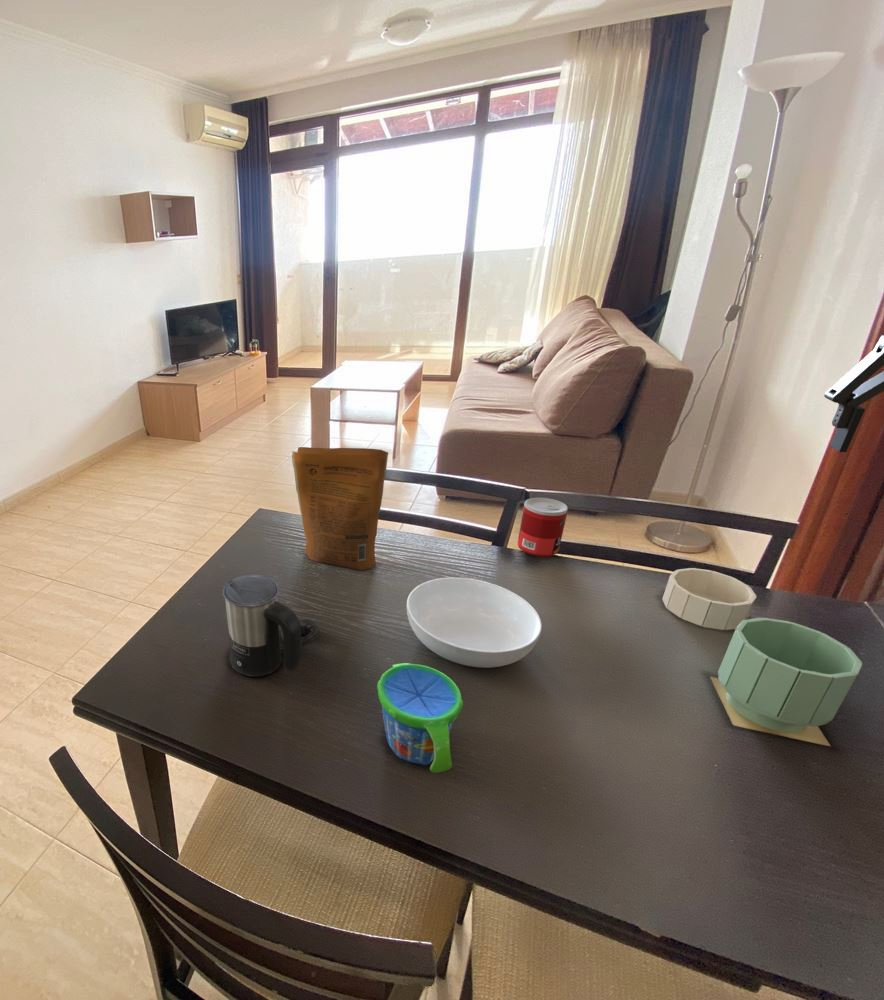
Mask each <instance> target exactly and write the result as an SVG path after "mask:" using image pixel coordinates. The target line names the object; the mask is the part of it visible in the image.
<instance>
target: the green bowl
mask: <svg viewBox="0 0 884 1000" xmlns="http://www.w3.org/2000/svg"><path fill="white" fill-rule="evenodd" d="M862 666H863V662H862V660H861V659H860V658H859V657H858V656H857V655H856V654H855V652H854V651H853V650H852V649H851V648H850V647H849V646H847V645H845V644H844V643H842V642H840V641H838V640H837V639H835V638H834V637H831V636H830V635H828V634H826V633H825V632H822V631H821V630H816V629H814V628H811V627H808V626H806V625H802V624H799V623H796V622H792V621H788V620H782V619H776V618H770V617H769V618H768V617H755V618H748V619H747V620H743V621H741V623H740V624H739V625H738V627H737V628H736V629H734V632H733V635H732V637H731V639H730V641H729V644H728V646H727V648H726V651H725V654H724V656H723V658H722V661H721V663H720V666H719V668H718V671H717V678H719V681H720V683H721V685H722V687H723V688H724V689H725V690H726V691H727V693H726V698H727V701H728V703H729V704H730V705H731V707H732V708H733V709H734V710H735V711H737V712H738V713H739V714H740V715H742V716H743V717H745V718H746V719H748V720H750V721H752V722H754V723H756V724H758V725H760V726H763V727H766V728H768V729H772V730H775V731H780V732H787V733H796V732H801V731H803V730H805V729H806V728H807V726H818V727H820V726H824V725H827V724H829V723H830V722H831V721H833V720H834V718H835V716H836V714H837V712H838V711H839V709H840V707H841V706H842V704H843V702H844V700H845V698H846V697H847V695H848V693H849V691H850V689H851V687H852V686H853V684H854V682H855V680H856V679H857V677H858V675H859V673H860V671H861V669H862Z"/></svg>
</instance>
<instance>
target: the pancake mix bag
mask: <svg viewBox="0 0 884 1000" xmlns="http://www.w3.org/2000/svg"><path fill="white" fill-rule="evenodd" d="M388 458H389V452H388V451H385V450H383V449H378V448H363V447H362V448H361V447H330V448H329V447H325V448H324V447H309V446H308V447H307V446H298V447H297V451H296V450H292V454H291V463H292V467H293V472H294V482H295V490H296V494H297V500H298V506H299V511H300V515H301V522H302V529H303V533H304V538H305V542H306V544H305V547H304V554H305V555H306V556H307V557H308V558H309V560H311V561H313V562H315V563H320V564H325V565H329V566H337V567H342V568H348V569H352V570H357V571H365V570H369V569H372V568H375V567H377V561H376V560H377V559H376V548H375V547H376V546H375V545H376V539H377V534H378V524H379V515H380V512H381V507H382V502H383V496H384V486H385V479H386V476H387V465H388Z"/></svg>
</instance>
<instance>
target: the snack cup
mask: <svg viewBox="0 0 884 1000" xmlns="http://www.w3.org/2000/svg"><path fill="white" fill-rule="evenodd" d="M376 688H377V694H378V701H379V702H380V704H381V708H382V710H381V711H382V716H383V717H382V718H383V723H384V724H383V725H384V732H385V736H386V741H387V744H388V746H389V747H390V749H391V751H392V752H393V753H394V755H395V756H397V757H398V758H399V759H401V760H404V761H406V762H407V763H408V762H409V763H412V764H416V765H417V764H418V765H423V766H426V765H430V767H429V770H430V772H431V773H436V774H438V773H444V772H447V771H449V770H450V769H451V768H452V766H453V763H452V762H453V761H452V756H451V746H450V745H451V744H450V742H451V741H450V734H451V730H452V727H453V725H454V723H455V720H457V718H458V717H459V715H460V712H461V711H462V710H463V706H464V701H463V699H462V695H461V691H460V689H459V687H458V685H456V683H455V682H454V681H453V679H451V678H450V677H449V676H447V675H446V674H445V673H443V672H441V671H440V670H437V669H436V668H433V667H430V666H427V665H423V664H417V663H416V664H415V663H408V662H406V663H405V662H403V663H396V664H392V665H391V667H390V668H389V669H387V670H386V671H384V672H383V674H381V676H380V679H379V680H378V681H377V684H376Z"/></svg>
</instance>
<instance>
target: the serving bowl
mask: <svg viewBox="0 0 884 1000" xmlns="http://www.w3.org/2000/svg"><path fill="white" fill-rule="evenodd" d="M406 614H407V615H406V616H407V619H408V622H409V625H410V628H411V630H412V631H413V633H414V635H415V636H416V637H417V638H418V640H419V641H420V642H421V643H422V644H423V646H425V647H426V648H428V649H429V650H430V651H431V652H433V653H434V654H436V655H438V656H439V657H441V658H443V659H445V660H448V661H450V662H453V663H456V664H459V665H463V666H465V667H466V666H467V667H473V668H482V669H483V668H484V669H486V668H487V669H488V668H498V667H499V668H501V667H504V666H508V665H512V664H513V663H516V662H518V661H520V660H522V659H523V658H524V657H526V656H527V655H528V654H529V653H531V651H532V650H533V649H534V648H535V646H536V644H537V642H538V641H539V639H540V636H541V633H542V630H543V625H542V620H541V617H540V615H539V613H538V612H537V610H536V609H535V608H534V607H533V606H532V605H531V604H530V603H529V602H528V601H527V600H525V598H523V597H522V596H519V595H518V594H516V593H515V592H514V591H511V590H509V589H507V588H505V587H503V586H500V585H497V584H494V583H491V582H488V581H484V580H479V579H475V578H469V577H468V578H467V577H441V578H435V579H431V580H428V581H425V582H422V583H421V584H419V585H417V586H416V587H414V588H413V590H412V591H411V592H410V593H409V594H408V597H407V600H406Z"/></svg>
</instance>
